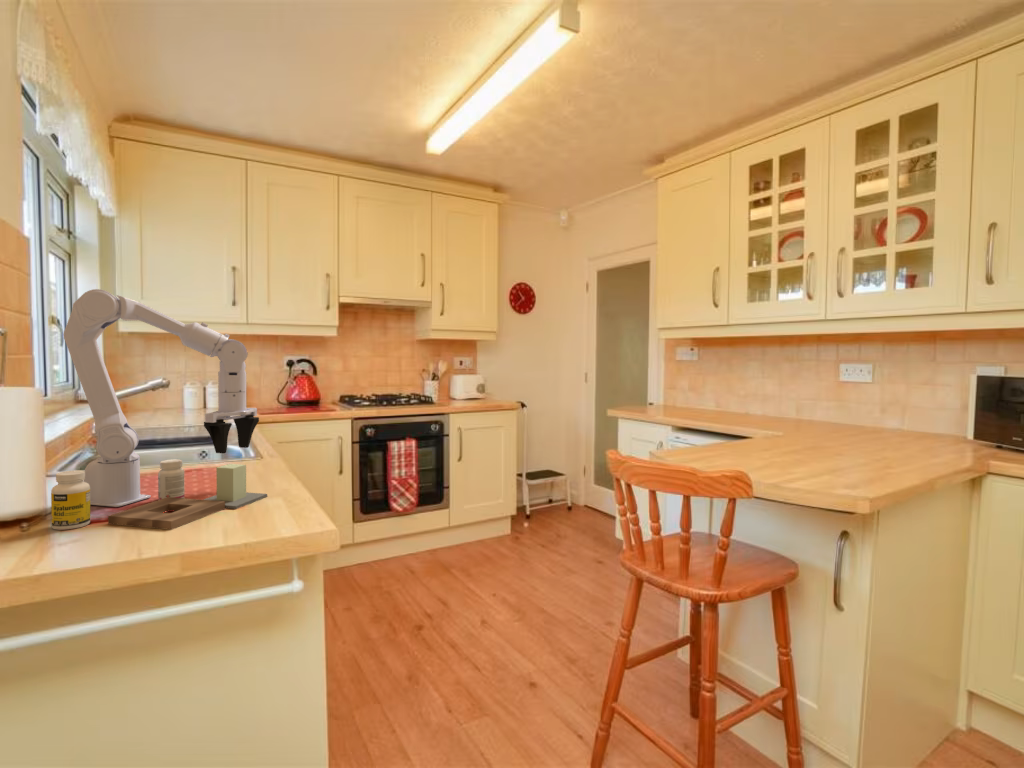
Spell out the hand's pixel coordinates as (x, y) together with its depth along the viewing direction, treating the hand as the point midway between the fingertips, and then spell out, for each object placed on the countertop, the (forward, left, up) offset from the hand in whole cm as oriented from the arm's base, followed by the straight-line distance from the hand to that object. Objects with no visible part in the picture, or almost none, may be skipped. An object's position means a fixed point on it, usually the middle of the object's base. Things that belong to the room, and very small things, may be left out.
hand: (232, 450), depth 121 cm
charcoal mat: (+6, -8, -9) cm, 14 cm away
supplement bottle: (-10, -29, -10) cm, 32 cm away
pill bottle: (-7, -10, -10) cm, 16 cm away
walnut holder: (+2, -20, -9) cm, 22 cm away
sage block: (+6, -8, -9) cm, 13 cm away
